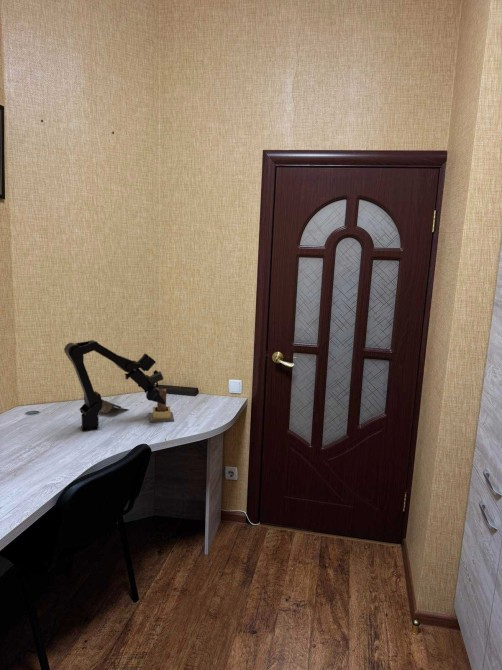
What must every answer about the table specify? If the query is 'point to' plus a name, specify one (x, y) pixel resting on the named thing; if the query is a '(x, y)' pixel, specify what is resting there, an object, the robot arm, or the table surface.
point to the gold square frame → (161, 415)
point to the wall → (108, 406)
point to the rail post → (163, 394)
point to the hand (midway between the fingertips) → (164, 400)
